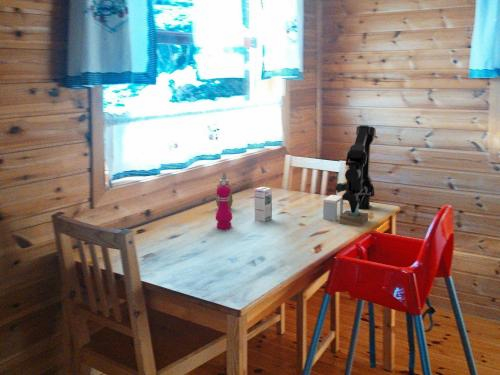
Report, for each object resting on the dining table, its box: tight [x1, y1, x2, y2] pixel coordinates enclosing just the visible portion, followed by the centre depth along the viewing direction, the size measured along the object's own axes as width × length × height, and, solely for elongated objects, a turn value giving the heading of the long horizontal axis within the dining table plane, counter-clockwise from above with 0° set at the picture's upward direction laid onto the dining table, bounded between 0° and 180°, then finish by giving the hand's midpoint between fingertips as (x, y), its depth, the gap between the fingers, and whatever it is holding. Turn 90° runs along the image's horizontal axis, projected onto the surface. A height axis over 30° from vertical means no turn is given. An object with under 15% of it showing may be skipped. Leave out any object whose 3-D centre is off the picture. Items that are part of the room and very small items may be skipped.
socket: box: [339, 210, 369, 227], centre depth 247 cm, size 10×10×4 cm
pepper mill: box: [215, 182, 233, 230], centre depth 238 cm, size 7×7×20 cm
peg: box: [349, 203, 359, 217], centre depth 246 cm, size 3×3×8 cm
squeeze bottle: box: [215, 171, 234, 210], centre depth 267 cm, size 8×8×18 cm
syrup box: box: [253, 186, 273, 222], centre depth 250 cm, size 6×6×14 cm
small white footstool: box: [322, 194, 344, 221], centre depth 255 cm, size 10×6×9 cm, turn 153°
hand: (354, 211), depth 246 cm, fingers closed on peg, 3 cm apart
